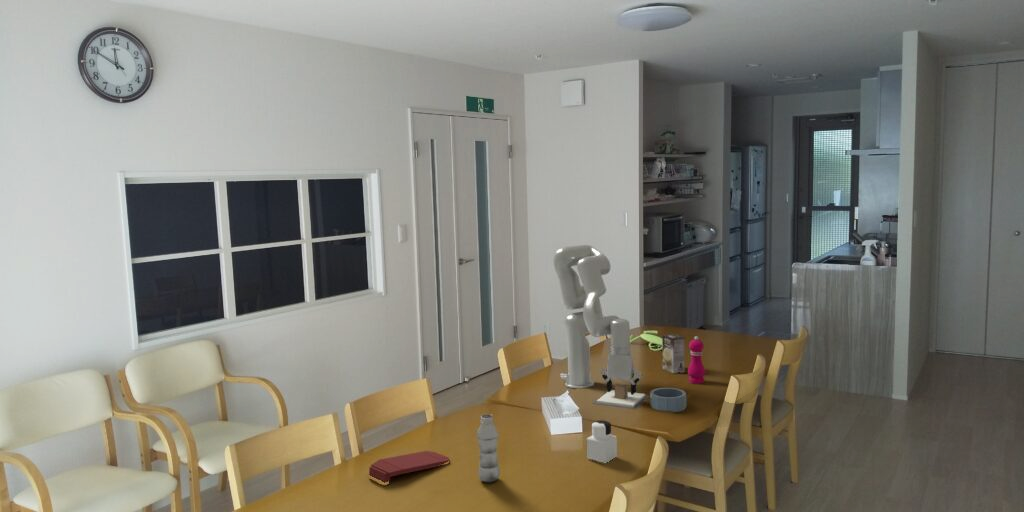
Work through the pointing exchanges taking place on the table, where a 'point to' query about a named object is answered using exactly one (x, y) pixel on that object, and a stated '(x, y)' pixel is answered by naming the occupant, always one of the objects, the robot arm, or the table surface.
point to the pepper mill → (696, 362)
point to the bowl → (668, 399)
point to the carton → (405, 464)
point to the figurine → (650, 339)
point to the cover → (621, 397)
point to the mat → (623, 406)
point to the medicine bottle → (601, 442)
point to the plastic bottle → (488, 449)
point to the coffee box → (673, 353)
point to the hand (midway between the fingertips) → (621, 392)
